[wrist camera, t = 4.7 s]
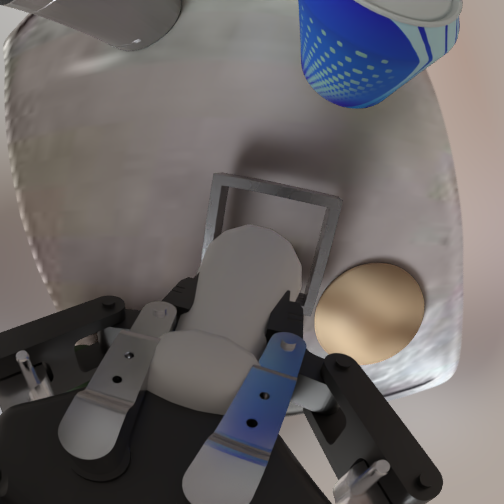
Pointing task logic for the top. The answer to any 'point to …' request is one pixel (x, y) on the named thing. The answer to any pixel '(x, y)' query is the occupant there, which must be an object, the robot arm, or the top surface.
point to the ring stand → (331, 202)
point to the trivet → (369, 313)
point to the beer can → (372, 45)
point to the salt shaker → (225, 319)
